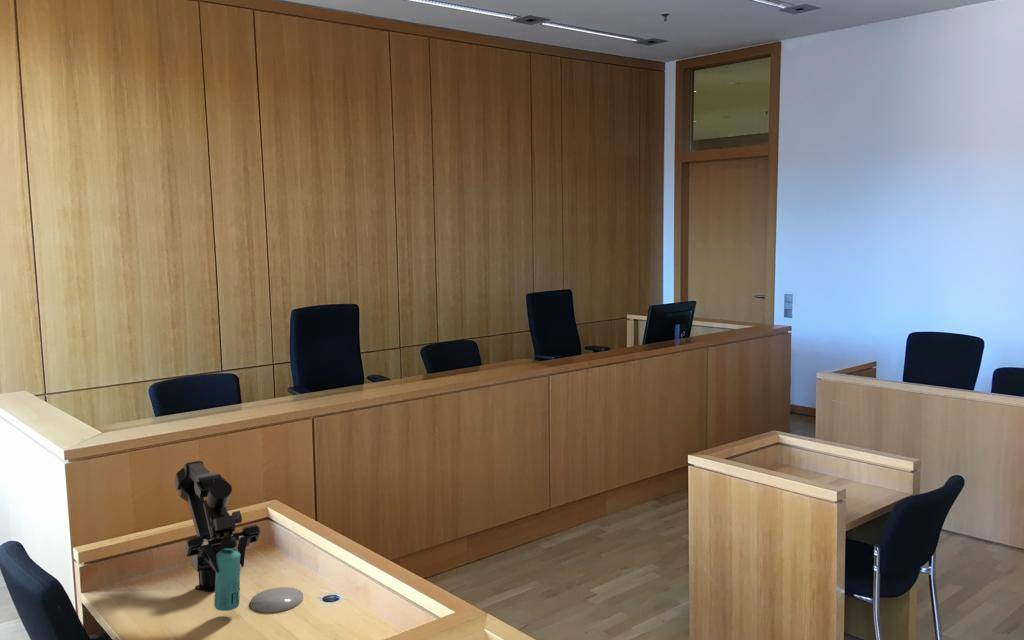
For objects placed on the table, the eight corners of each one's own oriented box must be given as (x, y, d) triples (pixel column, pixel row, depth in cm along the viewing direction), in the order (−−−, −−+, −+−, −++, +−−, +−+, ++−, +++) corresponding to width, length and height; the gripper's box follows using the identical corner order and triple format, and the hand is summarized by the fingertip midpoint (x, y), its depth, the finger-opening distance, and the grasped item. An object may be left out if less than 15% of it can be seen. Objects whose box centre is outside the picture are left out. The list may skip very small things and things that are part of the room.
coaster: (239, 607, 226) (239, 604, 225) (274, 586, 238) (274, 583, 238) (280, 616, 220) (280, 613, 220) (313, 594, 232) (313, 592, 232)
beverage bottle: (231, 618, 216) (234, 543, 215) (208, 614, 218) (211, 540, 216) (244, 608, 223) (246, 535, 221) (221, 604, 224) (224, 532, 223)
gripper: (184, 509, 216) (197, 564, 208) (256, 495, 226) (270, 547, 218) (180, 529, 223) (191, 582, 215) (250, 515, 233) (263, 565, 225)
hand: (230, 569), depth 218 cm, fingers closed on beverage bottle, 6 cm apart
